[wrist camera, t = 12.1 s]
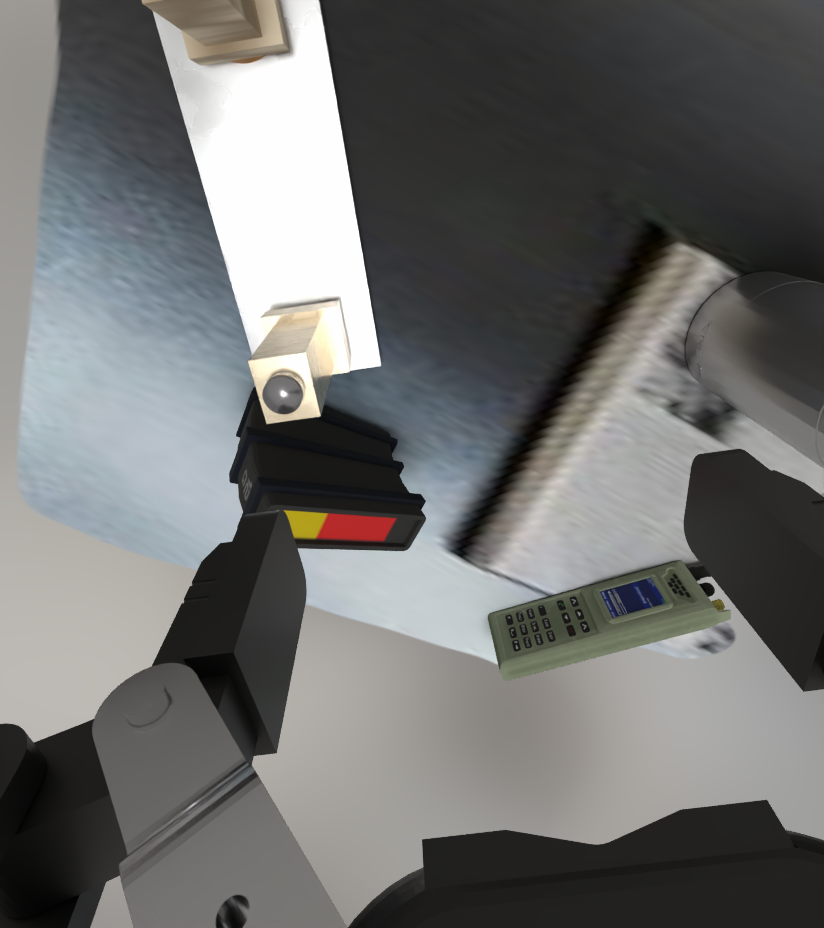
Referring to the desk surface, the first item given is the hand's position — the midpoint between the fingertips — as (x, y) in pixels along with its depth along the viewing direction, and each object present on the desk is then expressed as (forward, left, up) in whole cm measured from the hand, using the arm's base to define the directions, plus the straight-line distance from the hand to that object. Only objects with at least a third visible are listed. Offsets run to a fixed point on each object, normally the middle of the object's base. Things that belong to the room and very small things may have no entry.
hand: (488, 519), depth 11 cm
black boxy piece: (+8, +11, -30) cm, 33 cm away
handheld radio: (-15, +32, -31) cm, 47 cm away
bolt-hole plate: (+8, -8, -30) cm, 32 cm away
